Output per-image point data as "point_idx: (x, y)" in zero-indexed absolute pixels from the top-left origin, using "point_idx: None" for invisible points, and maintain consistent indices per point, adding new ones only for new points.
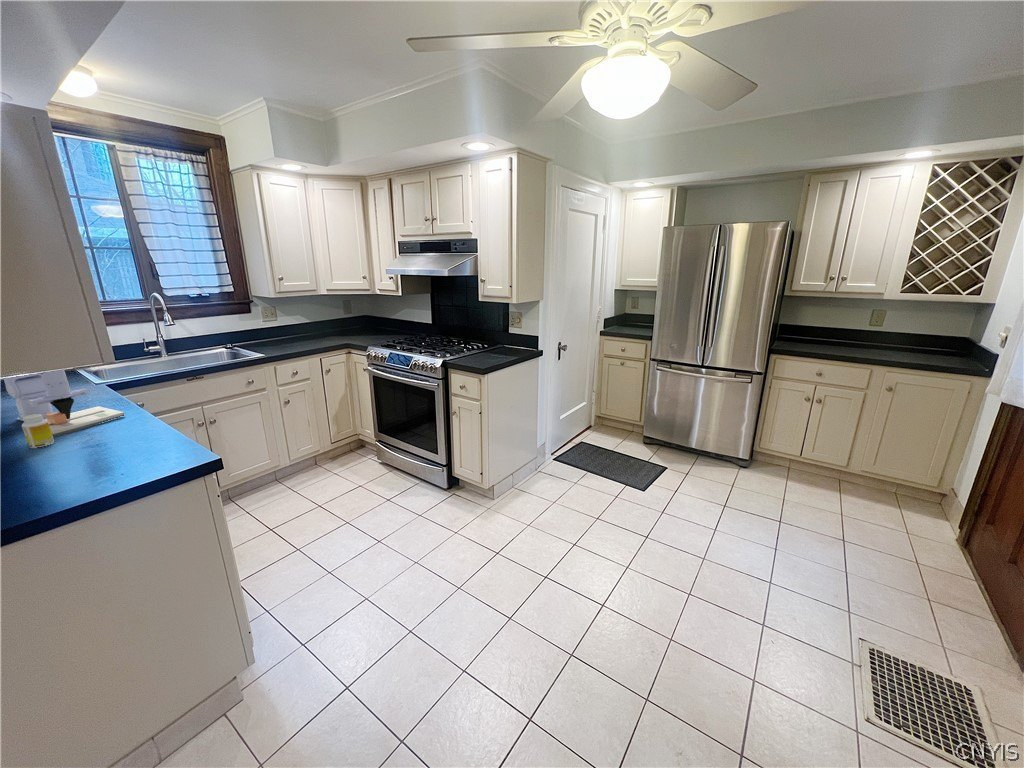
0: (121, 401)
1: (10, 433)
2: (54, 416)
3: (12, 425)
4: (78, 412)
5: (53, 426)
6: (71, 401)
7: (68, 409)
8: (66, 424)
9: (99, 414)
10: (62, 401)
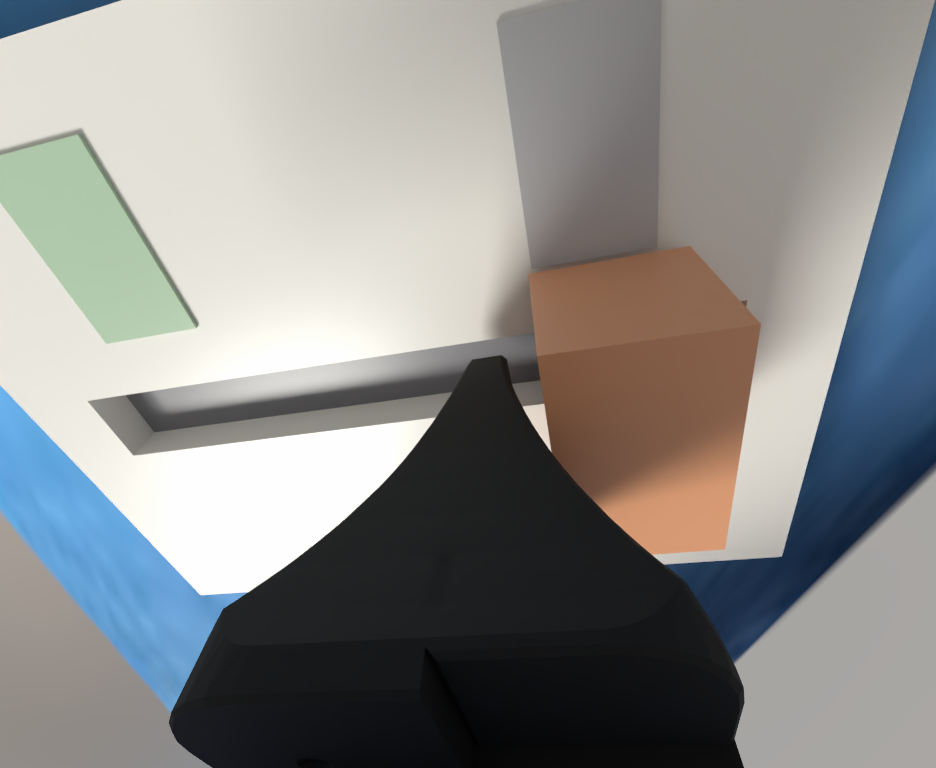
0: (106, 627)
1: (884, 504)
2: (743, 324)
3: (733, 642)
4: None
5: (735, 216)
6: (269, 627)
7: (443, 456)
8: (589, 127)
9: (134, 306)
10: (496, 734)
